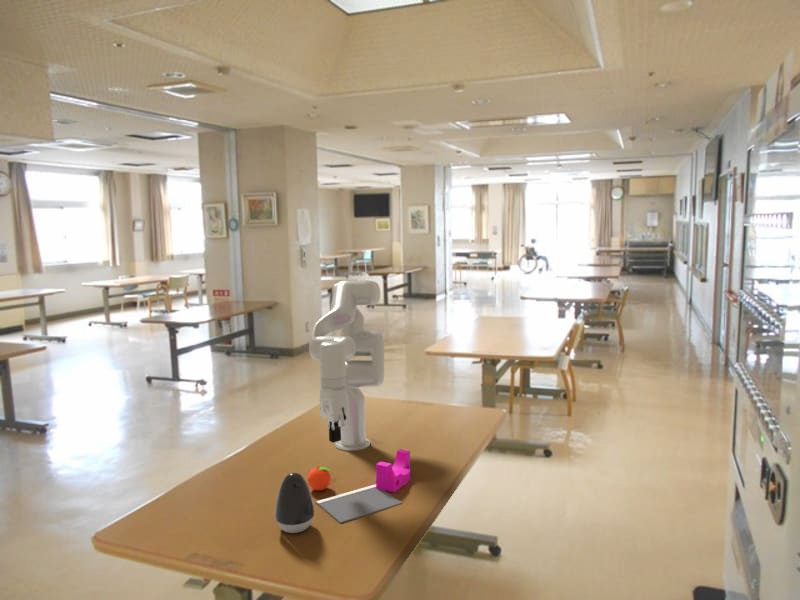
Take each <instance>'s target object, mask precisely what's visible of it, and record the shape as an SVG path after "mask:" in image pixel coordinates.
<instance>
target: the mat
mask: <svg viewBox="0 0 800 600" xmlns="http://www.w3.org/2000/svg"><path fill="white" fill-rule="evenodd" d="M315 503H316V504H317V505H318V506H319V507H320V508H322V510H324V511H325V512H326V513H327V514H328V515H329V516H331V517H332V518H333V519H335V520H336V521H337V522H338V523H339V524H340V523H341V524H344V523H346V522H350V521H353V520H356V519H359V518H362V517H366V516H369V515H372V514H374V513H378V512H381V511H383V510H386V509H389V508H393V507H396V506H399V505H402V504H403V502H402V501H401V500H399V499H397V498H396V497H394V496H393V495H392V494H390V492H388V491H385V490H381V489H377V488H376V483H375V484H372V485H368V486H365V487H362V488H358V489H355V490H351V491H348V492H344V493H339V494H337V495H334V496H333V495H332V496H330V497H327V498H324V499H319V500H317V501H315Z"/></svg>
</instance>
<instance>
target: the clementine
mask: <svg viewBox="0 0 800 600" xmlns="http://www.w3.org/2000/svg"><path fill="white" fill-rule="evenodd" d="M331 474H332V475H333V476H334V473H333V472H332V470H331V469H329V468H328V467H324V466H315V467H314V468H312V469H311V470H310V471H309V472H308V476H307V484H308V486H309V487H310V488H311V489H313V490H314V491H318V492H320V491H324V490H325V489H327V487H328V486H330V484H331V479H332V477H331V476H332V475H331Z"/></svg>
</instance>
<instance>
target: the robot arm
mask: <svg viewBox="0 0 800 600" xmlns="http://www.w3.org/2000/svg"><path fill="white" fill-rule="evenodd" d="M331 289H332V290H331V291H332V298H331V302H330V303H331V304H330V308H329V311H328V313H326V314H325V315H323V316H322V317H321V318H319V319H318V321H316V323H315V324H314V325H313V327H312V331H311V335H310V338H309V339H310V340H309V345H308V351H309V355H310V357H311V358H312V359H313V360H315V361H319V363H320V364H319V365H320V393H319V414H320V416H321V418H324V419H325V420H326V421H327V426H328V439H329V440H328V441H329V442H331V443H335V447H336V448H337V449H339V450H341V451H346V452H347V451H349V452H350V451H351V452H355V451H362V450H364V449H367V448H369V446H371V440H370V438H367V435H366V434H367V433H366V399H365V395H364V392H362V390H361V389H360V388H365V387H366V388H369V387H370V388H375V387H376V388H377V387H380V386H382V385H383V383H384V379H385V341H384V340H385V339H384V335H383V334H382V333H381V332H380V331H378V330H365V325H364V324H365V317H364V314H363V313H362V312H361V310H360V309H359V308H358V307H357V306H375V305H378V303H379V302H380V299H381V288H380V285H379V283H378V282H377V281H373V280H369V279H367V280H366V279H365V280H363V279H360V280H359V279H358V280H355V279H354V280H346V279H345V280H341V281H339V282H337V283H334V285H333V286H332V288H331ZM338 330H340V335H328V334H330V333H332V332H335V331H338ZM353 357H362V358H363V357H366V358H367V357H369V358H370V359H371V360H370V359H366V360H365V359H364V360H363V359H362V360H361V359H357V360H356V359H352V358H353Z"/></svg>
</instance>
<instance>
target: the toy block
mask: <svg viewBox="0 0 800 600" xmlns="http://www.w3.org/2000/svg"><path fill="white" fill-rule="evenodd" d="M375 465H376V466H375V468H376V469H375V473H376V475H375V481H376V482H375V484H376V488H377V489H381V490H384V491H386V492H389V493H396V492H397V491H398V490H400V489H401V488H402V487H403V486H405V485H406V484H407V483H408V482H410V480H411V451H410V450H407V449H398V450H396V456H395V459H394V462H393V464H392V463H390V462H384V461H379V462H377V463H376V464H375Z"/></svg>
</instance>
